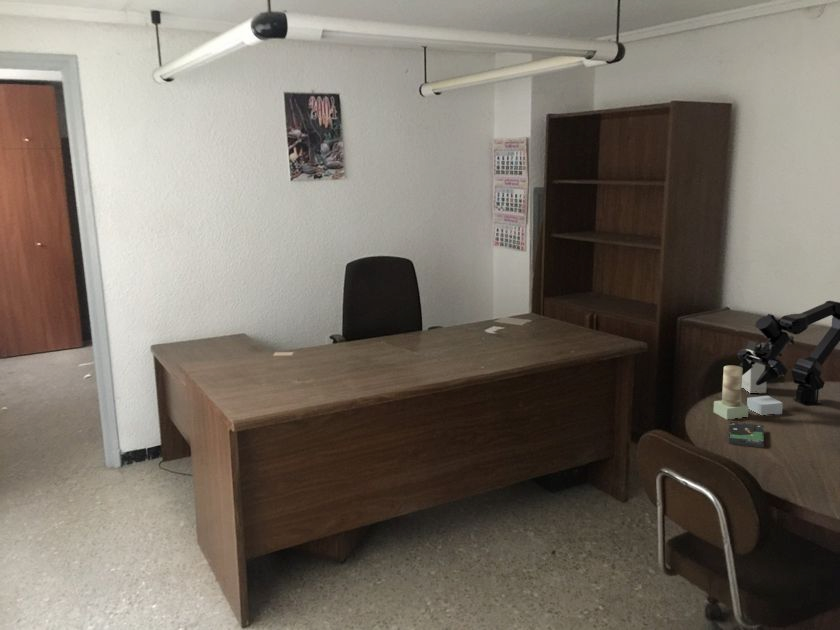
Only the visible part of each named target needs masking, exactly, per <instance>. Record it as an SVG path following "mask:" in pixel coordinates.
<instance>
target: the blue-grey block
mask: <svg viewBox="0 0 840 630" xmlns="http://www.w3.org/2000/svg"><path fill="white" fill-rule="evenodd" d="M746 399H747V401H746V405H747V406H749V409H750V410H749V409H748V410H749V411H751V410H752V411H751V412H753V411H754V412H756V413H758V414H760V415H766V416H768V415H767V414H775V415H782V414H783V406H784V405H783V402H781V401H780V400H777V399H776V398H774V397H771V396H769V395H762V396H752V397H747V398H746ZM754 412H753V413H754ZM756 413H755V414H756ZM758 414H757V415H758ZM760 415H759V416H760Z"/></svg>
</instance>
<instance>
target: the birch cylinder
mask: <svg viewBox="0 0 840 630" xmlns="http://www.w3.org/2000/svg"><path fill="white" fill-rule="evenodd" d="M739 366H740V365H732V364H731V365H725V366H723V372H722V373H723V375H722V391H721V392H722V394H721V400H722V404H723V405H725V406H730V407H737V406H740V405H741V403H742V372H743V368H742V367H739Z"/></svg>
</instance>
